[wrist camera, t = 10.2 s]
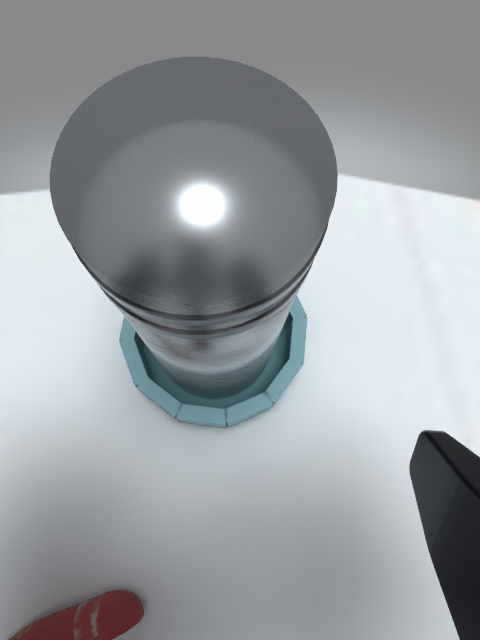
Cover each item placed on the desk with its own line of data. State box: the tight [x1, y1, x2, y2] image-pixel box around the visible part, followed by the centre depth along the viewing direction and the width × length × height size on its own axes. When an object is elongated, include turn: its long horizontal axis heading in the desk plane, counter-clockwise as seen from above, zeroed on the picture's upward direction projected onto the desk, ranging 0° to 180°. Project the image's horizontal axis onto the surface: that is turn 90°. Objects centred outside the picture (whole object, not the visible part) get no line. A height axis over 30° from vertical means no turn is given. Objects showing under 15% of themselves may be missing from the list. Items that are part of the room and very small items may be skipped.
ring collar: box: [119, 295, 307, 428], centre depth 20 cm, size 8×8×2 cm
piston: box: [50, 57, 338, 399], centre depth 14 cm, size 5×5×13 cm
